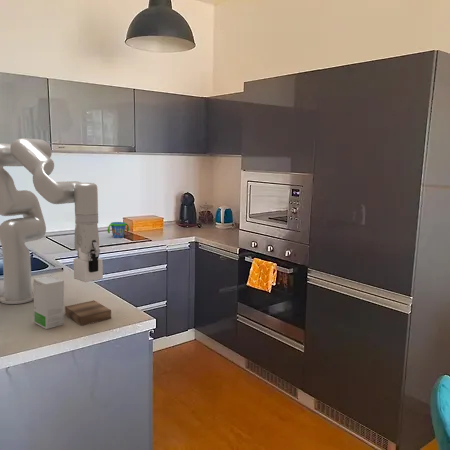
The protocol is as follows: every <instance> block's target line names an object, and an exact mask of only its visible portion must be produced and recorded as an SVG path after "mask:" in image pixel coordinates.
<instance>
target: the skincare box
mask: <svg viewBox="0 0 450 450" xmlns="http://www.w3.org/2000/svg"><path fill="white" fill-rule="evenodd" d="M64 286H65V282H64V280H63V279H60V278H59V277H56V276H53V275H49V274H48V275H45V276H41V277H35V278H33V293H34V300H33V323H34V324H35V325H38V326H39V327H41V328H43V329H45V330H49V329H51V328H52V329H53V328H56V327H59V326H62V325H64V307H65V306H64V304H65V303H64V300H65V299H64V295H65V294H64V291H65V290H64V289H65V287H64Z"/></svg>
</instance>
